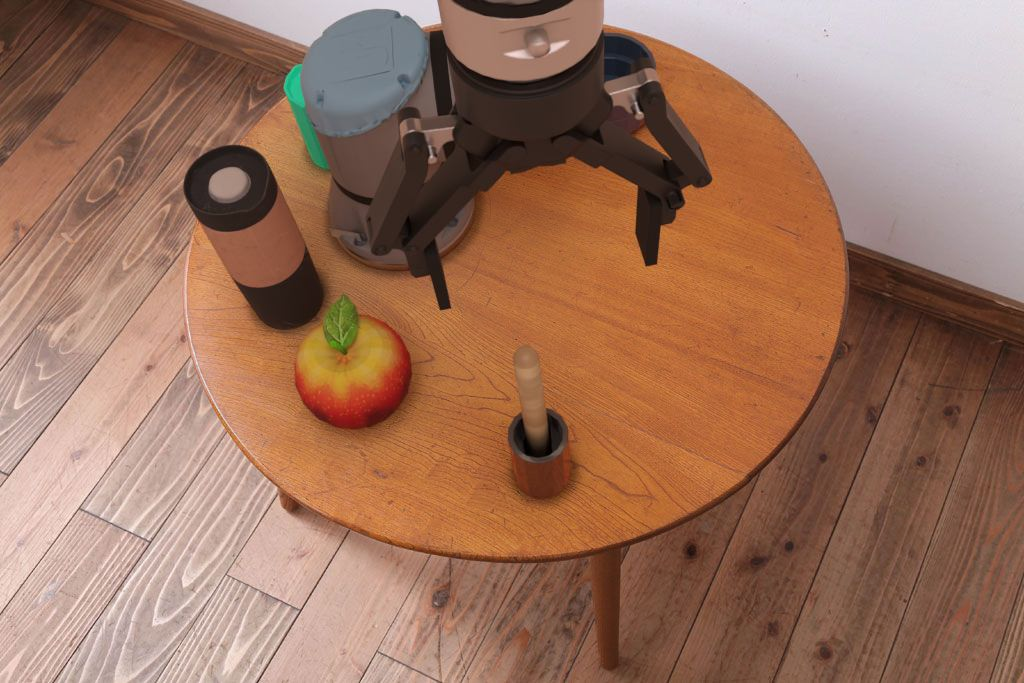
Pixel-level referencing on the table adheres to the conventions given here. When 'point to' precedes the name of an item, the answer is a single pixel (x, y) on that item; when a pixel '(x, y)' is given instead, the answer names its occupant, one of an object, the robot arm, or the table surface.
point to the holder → (541, 458)
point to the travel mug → (254, 234)
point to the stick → (532, 400)
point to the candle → (303, 116)
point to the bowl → (623, 72)
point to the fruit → (352, 368)
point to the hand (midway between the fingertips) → (544, 270)
